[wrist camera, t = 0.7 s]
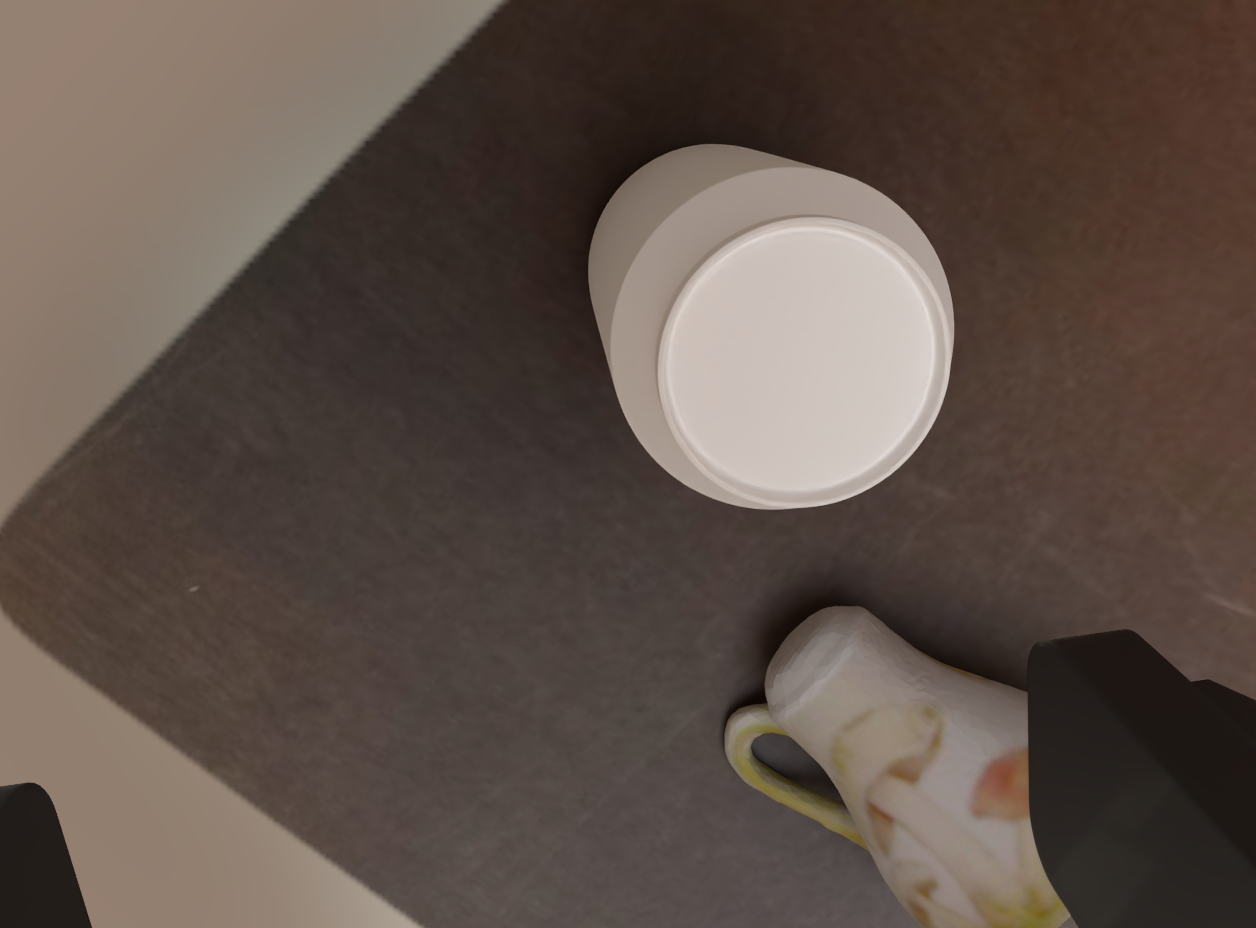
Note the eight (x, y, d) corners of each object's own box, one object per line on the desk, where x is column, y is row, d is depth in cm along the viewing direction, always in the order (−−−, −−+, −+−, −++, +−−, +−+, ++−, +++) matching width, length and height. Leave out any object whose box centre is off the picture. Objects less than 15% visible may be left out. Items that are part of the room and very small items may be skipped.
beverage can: (735, 422, 32) (848, 606, 21) (540, 303, 31) (545, 429, 19) (868, 226, 31) (1066, 307, 19) (669, 91, 29) (758, 94, 18)
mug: (827, 505, 33) (1133, 699, 26) (946, 649, 40) (1218, 837, 33) (654, 710, 33) (916, 967, 25) (804, 822, 39) (1047, 1053, 32)
